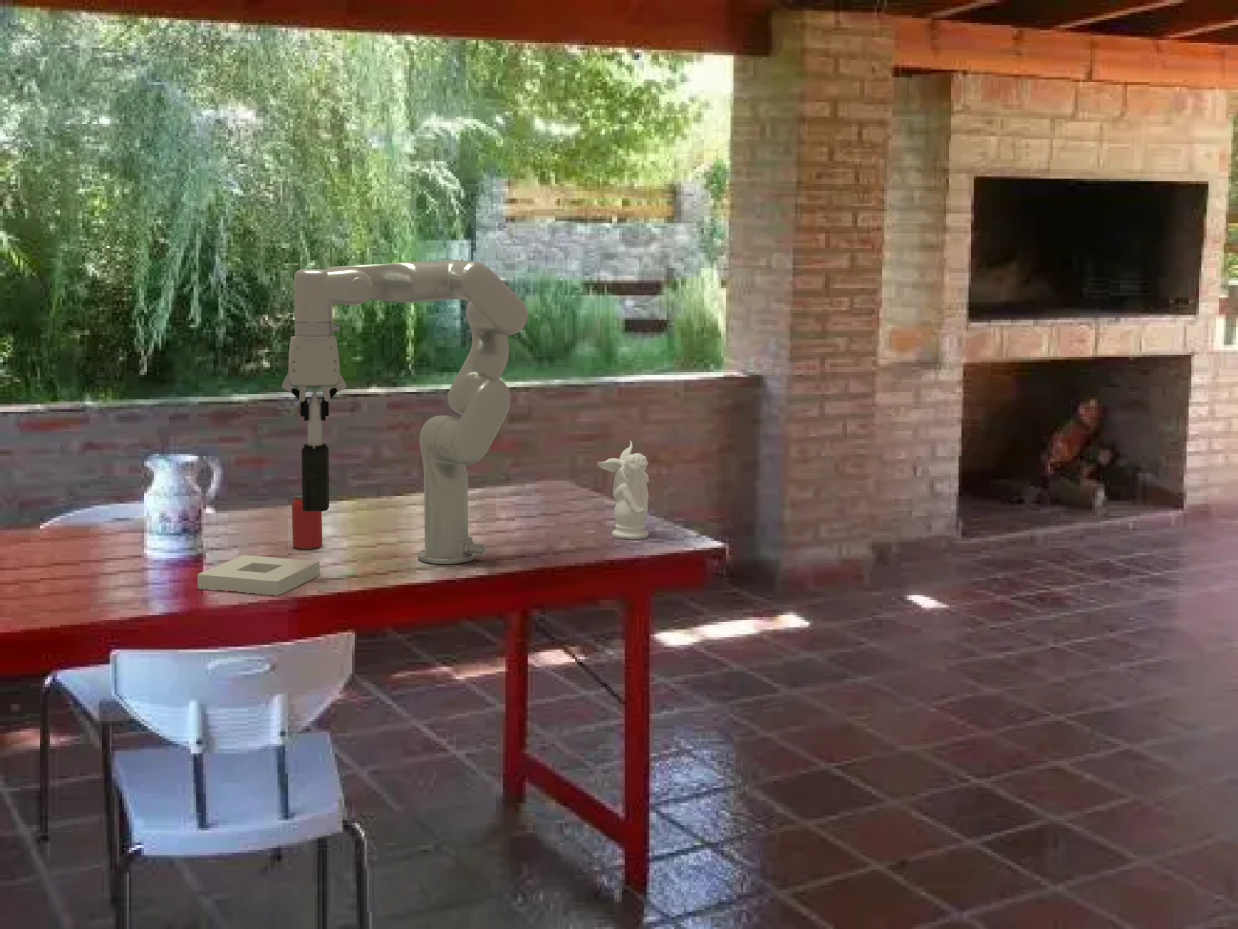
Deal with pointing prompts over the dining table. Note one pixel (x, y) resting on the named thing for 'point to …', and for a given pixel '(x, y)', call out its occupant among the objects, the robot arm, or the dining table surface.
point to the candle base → (259, 575)
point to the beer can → (305, 526)
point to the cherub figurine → (629, 494)
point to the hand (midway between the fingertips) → (314, 419)
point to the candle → (315, 462)
